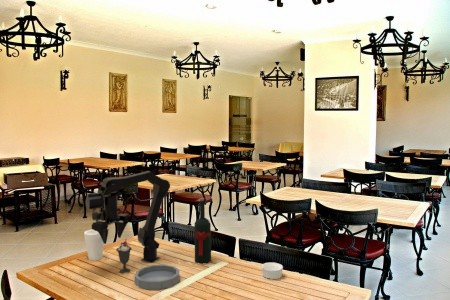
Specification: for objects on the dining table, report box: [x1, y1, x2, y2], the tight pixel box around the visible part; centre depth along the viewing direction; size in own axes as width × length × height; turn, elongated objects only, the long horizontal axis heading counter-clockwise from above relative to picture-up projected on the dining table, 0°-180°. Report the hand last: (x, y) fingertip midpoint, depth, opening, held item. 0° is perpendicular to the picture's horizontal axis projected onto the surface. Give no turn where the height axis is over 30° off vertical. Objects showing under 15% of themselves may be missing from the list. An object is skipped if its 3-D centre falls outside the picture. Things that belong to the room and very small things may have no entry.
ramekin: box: [261, 262, 284, 280], centre depth 164 cm, size 9×9×4 cm
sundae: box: [115, 238, 132, 274], centre depth 170 cm, size 7×7×15 cm
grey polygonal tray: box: [134, 264, 181, 291], centre depth 160 cm, size 18×18×3 cm
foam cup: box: [83, 229, 105, 261], centre depth 187 cm, size 10×9×13 cm
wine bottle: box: [193, 197, 212, 265], centre depth 180 cm, size 8×10×30 cm
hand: (112, 240), depth 173 cm, fingers open, 9 cm apart
